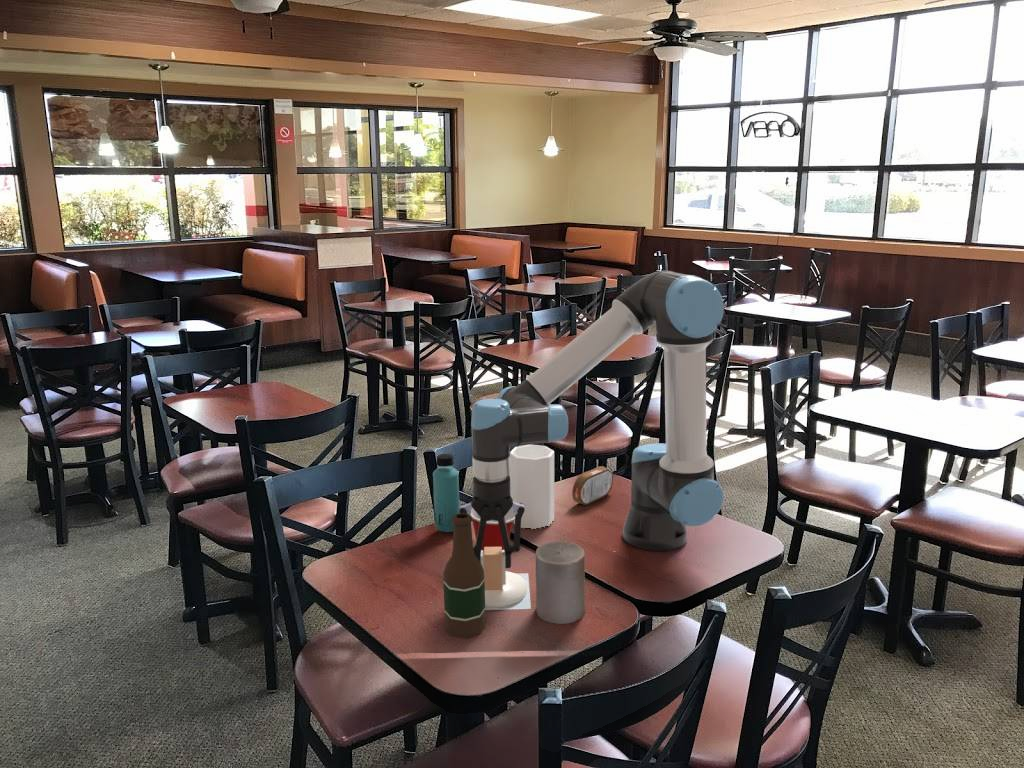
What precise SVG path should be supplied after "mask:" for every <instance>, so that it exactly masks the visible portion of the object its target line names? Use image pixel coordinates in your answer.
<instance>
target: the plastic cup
mask: <svg viewBox="0 0 1024 768" xmlns="http://www.w3.org/2000/svg"><path fill="white" fill-rule="evenodd" d="M470 516H471V517H472V520H473V521H472V526H473V530H474V536H475V540H477V534H478V529H479V523H480V516H479V515H478V514H477V513H476V511H475V510H474V509H473V508H472V509H471V514H470ZM514 520H515V514H514V513H513V508H511V509H510V510H509V511H508V513H507V514H506V515H505V523H506V527H507V532H508V537H509V541H510V538H511V533H512V527H513V525H514V524H513V523H514ZM484 547H502V550H504V546H503V541H502V536H501V532H500V527H499V524H498V521H496V520H489V521H487V522H486V527H485V532H484V538H483V543H482V549H481V550H484Z"/></svg>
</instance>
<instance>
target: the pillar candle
mask: <svg viewBox="0 0 1024 768" xmlns="http://www.w3.org/2000/svg"><path fill="white" fill-rule="evenodd" d="M585 553H586V552H585V550H584V549H583V547H581V546H580V545H579V544H577V543H573V542H569V541H557V540H556V541H549V542H544V543H543V544H541V545H540V546H538V547H537V548H536V550H535V597H536V598H535V599H536V601H535V604H536V606H535V607H536V609H535V611H536V614H537V616H538V617H539V618H540V619H541V620H543V621H545V622H547V623H552V624H557V625H558V624H562V625H564V624H565V625H566V624H571V623H575V622H576V621H577V622H578V621H579V620H581V619H582V618H583V617H584V615H585V613H586V598H585V597H586V591H585V590H586V589H585V588H586V587H585V586H586V585H585V584H586V583H585V582H586V580H585V579H586V578H585V575H586V574H585V571H586V569H585V568H586V567H585V561H586V560H585V559H586V558H585V557H586V556H585Z"/></svg>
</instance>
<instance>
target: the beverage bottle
mask: <svg viewBox="0 0 1024 768" xmlns="http://www.w3.org/2000/svg"><path fill="white" fill-rule="evenodd" d="M454 463H455V462H454V455H453V454H450V453H441V454H438V455H437V456H436V463H435V465H436V466H438V467H437V468H436V469H435V470H434V471H433V472H432V478H433V479H432V480H433V482H432V483H433V484H432V485H433V491H432V492H433V506H434V509H433V511H434V517H433V518H434V520H433V522H434V526H435V529H436V530H437V531H440V532H444V533H445V532H446V533H449V532H454V523H453V522H452V519H453V517H454V516H455V514H459V513H460V505H461V504H460V489H459V488H460V486H459V484H460V483H459V474H460V472H459V471H458V469H456V468H455V467H453V465H454Z"/></svg>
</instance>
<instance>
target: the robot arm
mask: <svg viewBox="0 0 1024 768" xmlns="http://www.w3.org/2000/svg"><path fill="white" fill-rule="evenodd" d="M724 308H725V307H724V300H723V297H722V295H721V292H720V291H719V289H718V288H717V287H716V286H715V285H714V284H713V283H711V282H710V281H709V280H706V279H704V278H702V277H700V276H697V275H693V274H692V275H691V274H685V273H681V272H675V271H672V270H659V271H655V272H652V273H650V274H647V275H645V276H644V277H642V278H641V279H639V280H638V281H635V283H633V284H632V285H630V286H629V287H627V289H625V290H624V291H623V292H622V293H621V294H619V295H618V296H616V298H614V299H613V301H612V303H611V308H610V309H608V310H607V311H606V312H605V313H604V314H602V315H601V316H600V317H599V318H598V319H597V320H595V321H594V322H593V323H592V324H591V325H589V326H588V327H586V329H584V330H583V331H582V332H581V333H580V334H579V335H577V336H576V337H575V338H574V339H572V340H571V341H570V342H569V343H568V344H566V345H565V346H564V347H563V348H562V349H560V350H559V351H558V352H557V353H556V354H555V355H553V356H552V357H551V358H549V359H548V360H547V361H546V362H545V363H544V364H543V365H541V366H540V367H539V368H538V369H537V370H535V371H534V372H533V373H532V374H531V375H529V376H528V377H527V378H525V379H524V381H522V382H521V383H520V384H518V385H517V386H514V385H513V386H508V387H505V388H503V389H502V390H501V391H500V392H499V393H498V395H497V397H496V398H483V399H481V400H479V399H478V400H477V401H476V402H475V403H474V404H473V405H472V407H471V422H470V427H471V442H472V444H471V445H472V446H471V447H472V456H471V457H472V461H471V462H472V475H473V478H472V491H473V493H472V499H471V501H470V502H468V503H467V504H466V503H462V504H460V513H467V514H469V515H470V514H471V509H472V508H473V509H474V510H475V511H476V513H477V514H478V515H479V516H480V523H479V529H478V534H477V540H476V539H475V540H476V542H475V544H473V549H474V553H475V556H476V557H477V558H478V560H479V561H480V562H481V565H482V567H483V569H484V550H481V549H482V543H483V538H484V532H485V527H486V522H487V521H489V520H496V521H498V524H499V527H500V532H501V536H502V541H503V546H504V550H502V585H506V572H505V571H506V569H510V568H511V567H512V554H513V553H518V552H519V551H520V547H521V530H522V528H521V518H522V516H523V513H524V511H525V508H524V504H523V503H520V504H518V503H516V502H513V499H512V498H511V495H510V452H511V451H510V450H511V447H519V446H524V445H538V444H545V443H548V444H551V443H555V442H559V441H562V440H564V439H565V438H567V435H568V433H569V417H568V413H567V411H566V409H565V407H564V406H563V405H561V404H559V403H557V404H556V403H555V404H554V403H553V404H552V402H554V401H555V400H556V399H557V398H559V397H560V396H561V395H562V394H563V393H564V392H566V391H567V390H568V389H570V387H572V386H573V385H574V384H576V383H577V382H578V381H579V380H581V379H582V378H583V377H584V376H585V375H587V373H589V372H590V371H591V370H593V369H594V367H596V366H598V365H599V363H601V362H602V361H604V359H606V358H607V357H608V356H609V355H610V354H612V353H613V352H615V350H616V349H618V348H619V347H621V346H622V344H624V343H625V342H626V341H627V340H628V339H630V338H631V337H632V336H633V335H642V334H644V332H645V331H647V330H648V329H649V328H651V327H653V326H655V330H656V331H655V333H656V334H655V335H656V339H655V340H656V342H657V344H659V346H661V347H662V348H663V359H664V361H663V364H664V365H663V367H664V369H663V370H664V409H665V410H664V414H665V415H664V416H665V419H664V420H665V443H662V442H661V443H659V442H658V443H647V444H643V445H639V446H637V447H635V448H634V450H633V452H632V457H631V484H630V485H631V490H630V491H631V493H630V494H631V495H630V498H631V501H630V507H629V510H628V513H627V515H626V519H625V520H624V523H623V526H622V527H623V528H622V538H623V540H624V541H625V542H627V544H629V545H631V546H633V547H634V548H637V549H641V550H645V551H653V552H663V551H664V552H665V551H667V552H668V551H672V550H676V549H678V548H681V547H683V546H684V545H685V544H686V543H687V539H688V531H687V527H691V528H692V527H693V528H694V527H700V526H703V525H706V524H707V523H709V522H710V521H712V520H713V519H714V517H715V516H716V515H718V513H719V512H720V510H721V509H722V506H723V503H724V499H725V498H724V491H723V490H724V489H723V488H722V486H721V485H720V483H719V482H718V481H717V480H715V478H714V476H715V472H714V471H715V466H714V465H715V464H714V459H712V458H711V456H709V455H708V453H707V357H706V356H707V354H706V353H707V347H708V346H709V345H710V344H712V343H713V341H714V332H715V331H716V329H718V325H719V324H721V322H722V320H723V318H724V317H723V316H724V311H725V309H724ZM511 508H513V513H514V514H515V525H514V524H513V525H514V528H513V543H511V542H510V540H509V537H508V532H507V527H506V523H505V515H506V514H507V513H508V511H509V510H510V509H511ZM484 578H485V577H484Z"/></svg>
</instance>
